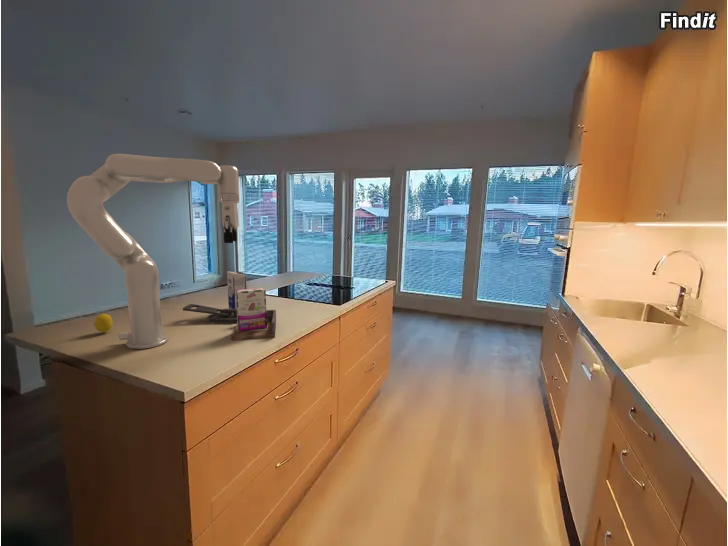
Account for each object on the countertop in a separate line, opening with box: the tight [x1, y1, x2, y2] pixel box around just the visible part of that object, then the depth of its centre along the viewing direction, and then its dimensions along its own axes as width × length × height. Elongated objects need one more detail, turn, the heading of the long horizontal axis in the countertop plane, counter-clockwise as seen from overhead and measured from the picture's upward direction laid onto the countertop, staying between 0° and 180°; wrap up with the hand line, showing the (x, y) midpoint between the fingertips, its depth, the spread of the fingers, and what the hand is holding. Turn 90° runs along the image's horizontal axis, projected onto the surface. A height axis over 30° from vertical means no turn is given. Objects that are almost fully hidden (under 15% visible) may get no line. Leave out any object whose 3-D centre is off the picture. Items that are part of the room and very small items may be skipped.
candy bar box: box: [236, 287, 267, 332], centre depth 132 cm, size 11×5×16 cm, turn 116°
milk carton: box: [226, 270, 248, 309], centre depth 160 cm, size 7×7×20 cm
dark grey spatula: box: [182, 303, 237, 325], centre depth 146 cm, size 9×7×25 cm
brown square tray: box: [230, 309, 277, 341], centre depth 133 cm, size 16×18×6 cm
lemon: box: [94, 313, 114, 334], centre depth 127 cm, size 6×6×8 cm
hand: (230, 241), depth 131 cm, fingers open, 9 cm apart
